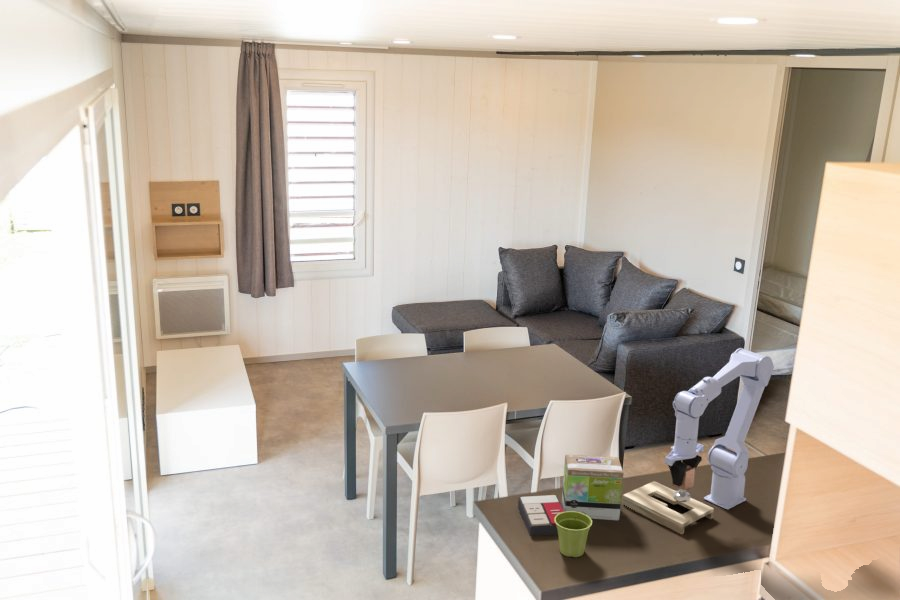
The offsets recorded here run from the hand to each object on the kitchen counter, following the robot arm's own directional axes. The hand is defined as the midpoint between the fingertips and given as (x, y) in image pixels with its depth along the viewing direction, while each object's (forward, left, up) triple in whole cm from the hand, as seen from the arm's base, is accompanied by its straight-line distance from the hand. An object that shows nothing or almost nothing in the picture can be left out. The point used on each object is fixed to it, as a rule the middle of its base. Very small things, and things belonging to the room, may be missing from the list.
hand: (682, 482), depth 215 cm
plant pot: (+36, -6, -11) cm, 38 cm away
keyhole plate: (0, -4, -10) cm, 11 cm away
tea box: (+17, -17, -11) cm, 26 cm away
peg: (0, 0, -4) cm, 5 cm away
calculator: (+31, -21, -11) cm, 39 cm away
